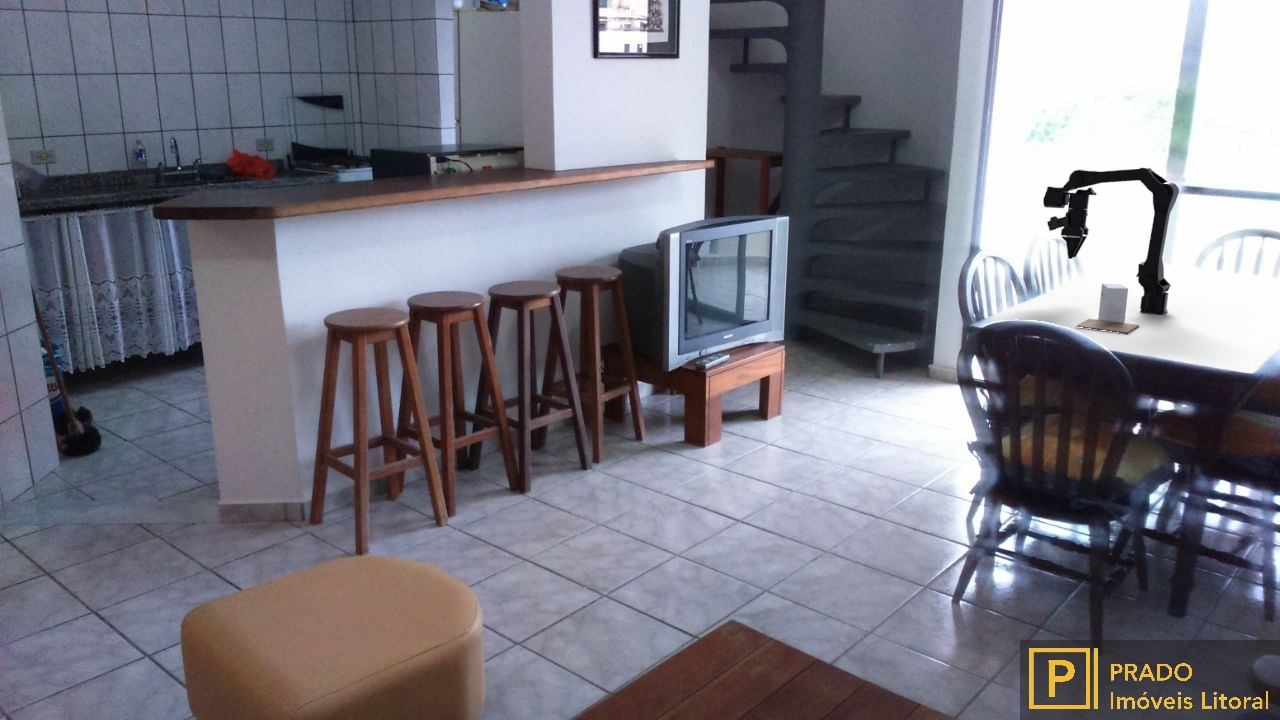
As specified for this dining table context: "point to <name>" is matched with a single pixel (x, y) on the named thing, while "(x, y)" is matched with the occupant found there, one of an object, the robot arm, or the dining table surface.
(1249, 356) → the dining table surface
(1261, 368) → the dining table surface
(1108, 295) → the small box
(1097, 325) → the walnut board
